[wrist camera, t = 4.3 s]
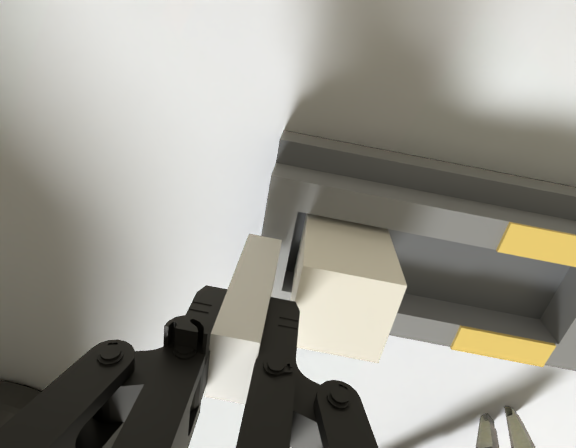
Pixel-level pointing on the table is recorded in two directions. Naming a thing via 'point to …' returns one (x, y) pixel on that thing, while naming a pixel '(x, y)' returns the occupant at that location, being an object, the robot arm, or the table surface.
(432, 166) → the switch board
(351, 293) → the tab
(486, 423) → the caliper
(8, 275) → the table surface
